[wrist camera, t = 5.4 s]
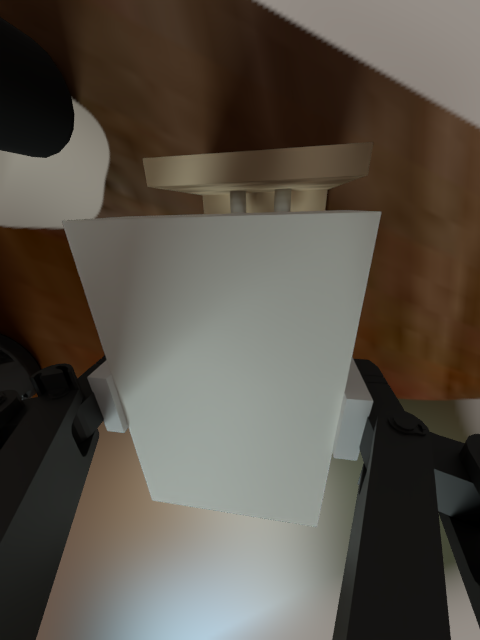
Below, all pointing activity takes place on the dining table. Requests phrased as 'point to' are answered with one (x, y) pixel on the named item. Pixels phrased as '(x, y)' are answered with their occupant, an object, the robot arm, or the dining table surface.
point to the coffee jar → (31, 98)
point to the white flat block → (230, 347)
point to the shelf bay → (261, 177)
